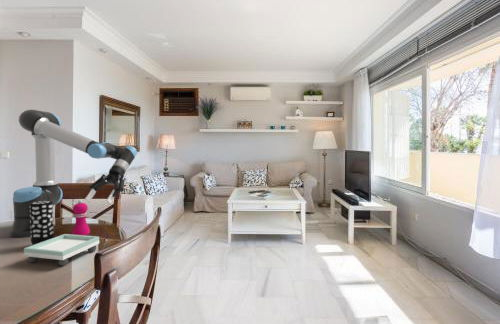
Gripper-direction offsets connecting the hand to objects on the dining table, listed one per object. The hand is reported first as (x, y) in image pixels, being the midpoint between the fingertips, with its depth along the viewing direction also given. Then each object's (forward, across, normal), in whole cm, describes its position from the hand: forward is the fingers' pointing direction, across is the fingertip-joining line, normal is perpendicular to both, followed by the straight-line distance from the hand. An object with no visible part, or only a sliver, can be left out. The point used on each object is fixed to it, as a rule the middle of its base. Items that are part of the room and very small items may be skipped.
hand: (97, 201), depth 138 cm
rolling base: (+30, -8, +6) cm, 32 cm away
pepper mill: (+19, +1, -6) cm, 20 cm away
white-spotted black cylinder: (+26, +12, +1) cm, 29 cm away
